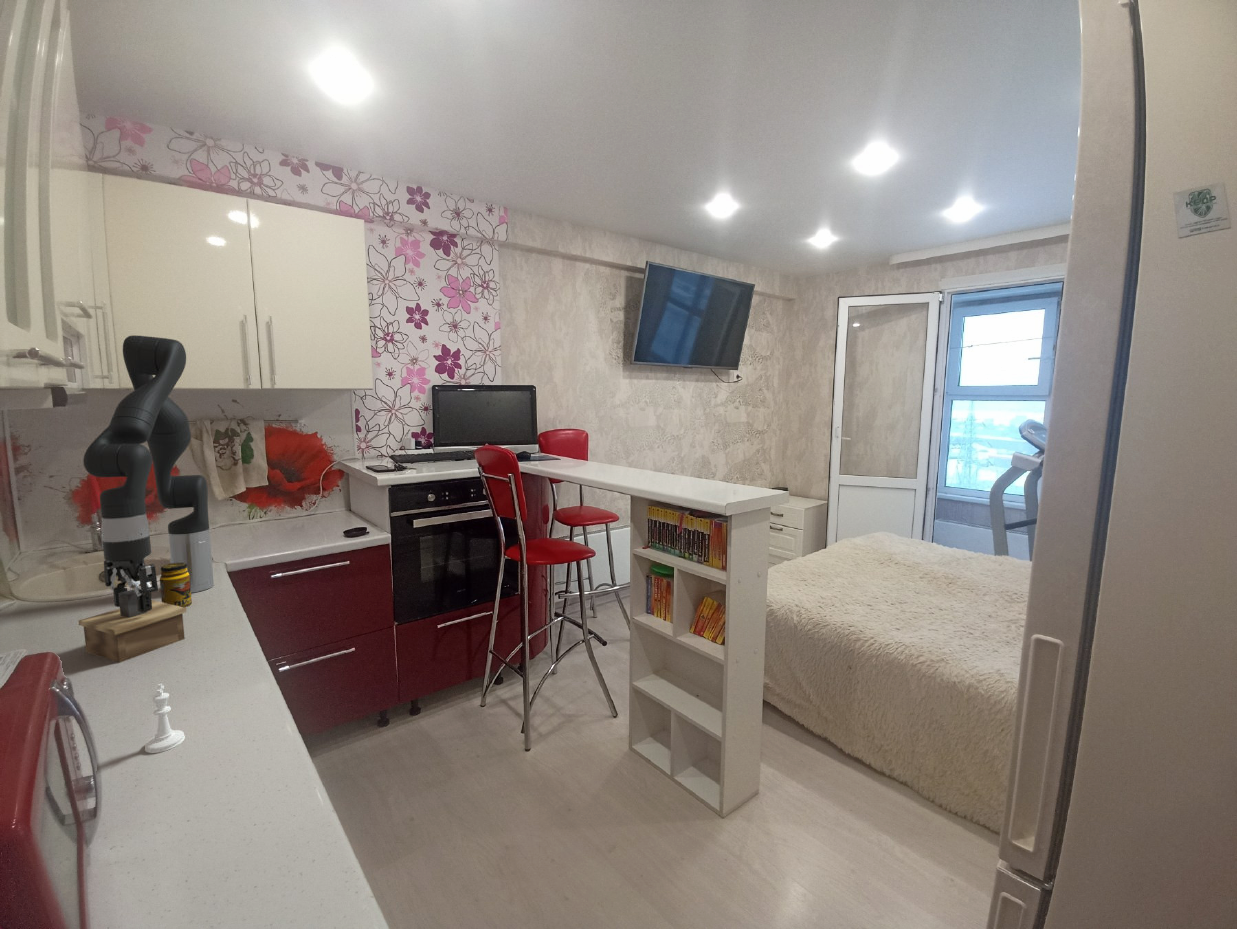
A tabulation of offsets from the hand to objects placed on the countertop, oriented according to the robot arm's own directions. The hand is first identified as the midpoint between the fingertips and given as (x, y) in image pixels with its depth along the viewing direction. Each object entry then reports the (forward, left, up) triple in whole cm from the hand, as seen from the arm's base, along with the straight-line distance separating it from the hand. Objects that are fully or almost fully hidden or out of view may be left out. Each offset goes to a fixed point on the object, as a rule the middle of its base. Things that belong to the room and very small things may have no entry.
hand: (133, 608), depth 116 cm
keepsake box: (0, 0, -9) cm, 9 cm away
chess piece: (+43, -18, -10) cm, 48 cm away
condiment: (-18, +17, -10) cm, 27 cm away
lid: (0, 0, -2) cm, 2 cm away
